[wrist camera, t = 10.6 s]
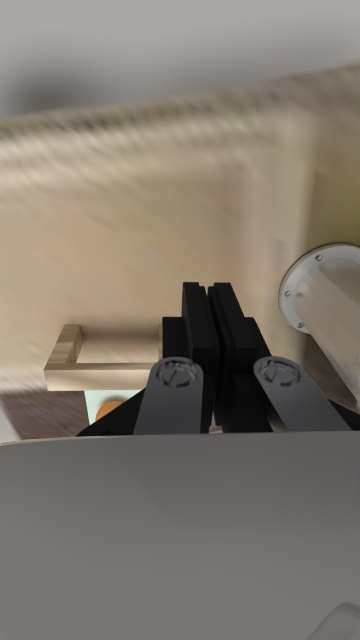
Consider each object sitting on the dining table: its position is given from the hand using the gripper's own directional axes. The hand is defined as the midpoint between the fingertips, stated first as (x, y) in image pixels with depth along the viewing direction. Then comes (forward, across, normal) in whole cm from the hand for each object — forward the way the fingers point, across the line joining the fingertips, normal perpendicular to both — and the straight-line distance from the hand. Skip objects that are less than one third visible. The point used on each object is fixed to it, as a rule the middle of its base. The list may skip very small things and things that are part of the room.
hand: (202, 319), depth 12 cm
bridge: (+27, +7, +19) cm, 34 cm away
